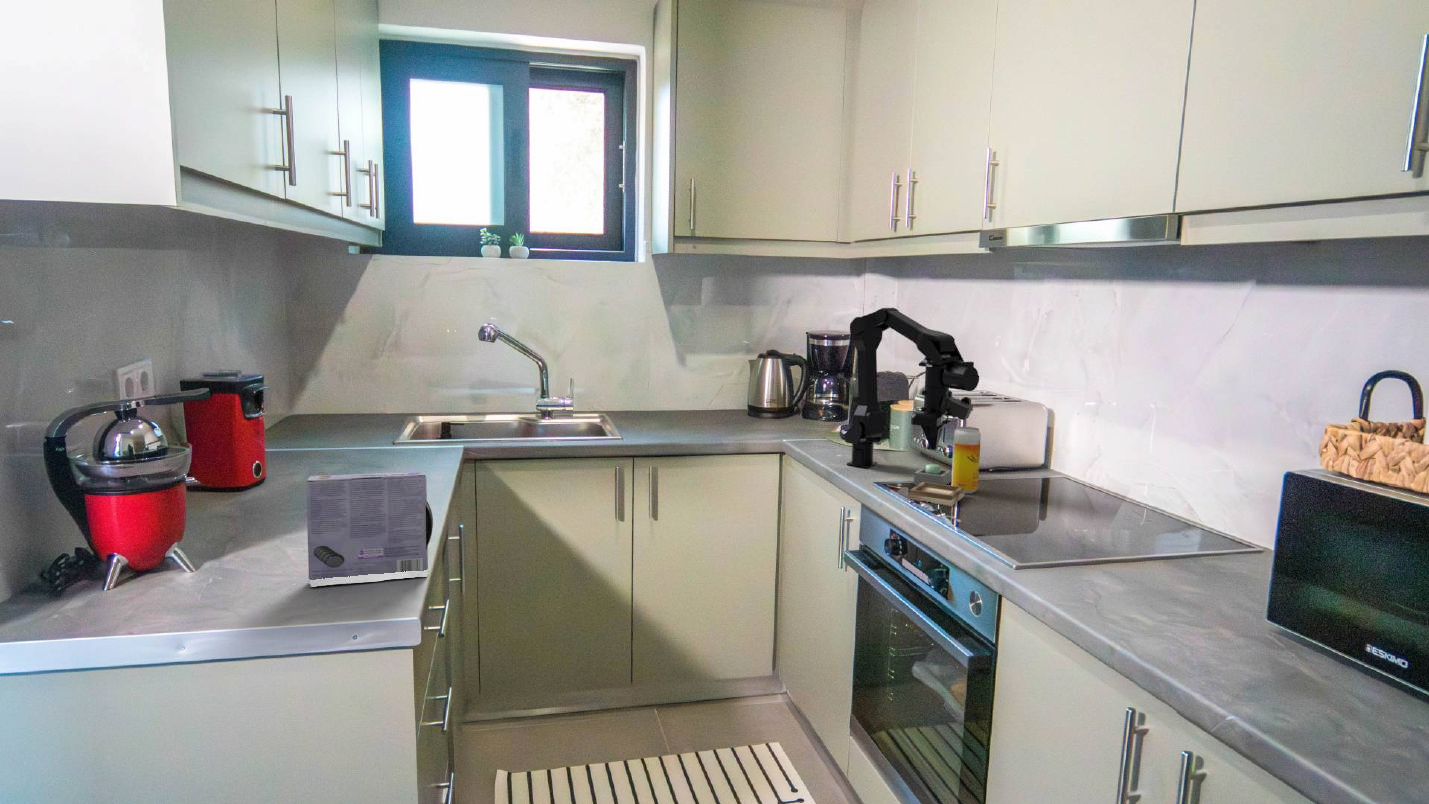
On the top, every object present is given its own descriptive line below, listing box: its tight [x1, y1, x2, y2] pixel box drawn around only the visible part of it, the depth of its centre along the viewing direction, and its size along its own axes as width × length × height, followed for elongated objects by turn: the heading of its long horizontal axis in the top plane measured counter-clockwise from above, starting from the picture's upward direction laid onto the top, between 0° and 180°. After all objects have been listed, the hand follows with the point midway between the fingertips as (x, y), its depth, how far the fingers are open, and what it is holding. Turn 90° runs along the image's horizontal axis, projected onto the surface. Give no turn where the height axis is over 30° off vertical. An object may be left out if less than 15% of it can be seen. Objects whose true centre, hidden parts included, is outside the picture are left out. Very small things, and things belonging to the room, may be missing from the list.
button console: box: [913, 467, 952, 486], centre depth 212 cm, size 7×7×3 cm
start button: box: [925, 463, 942, 475], centre depth 211 cm, size 4×4×2 cm
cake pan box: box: [306, 471, 434, 580], centre depth 142 cm, size 19×5×18 cm, turn 109°
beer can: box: [950, 426, 982, 494], centre depth 204 cm, size 6×6×15 cm
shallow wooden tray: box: [907, 482, 965, 507], centre depth 198 cm, size 10×10×2 cm
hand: (933, 449), depth 211 cm, fingers closed
